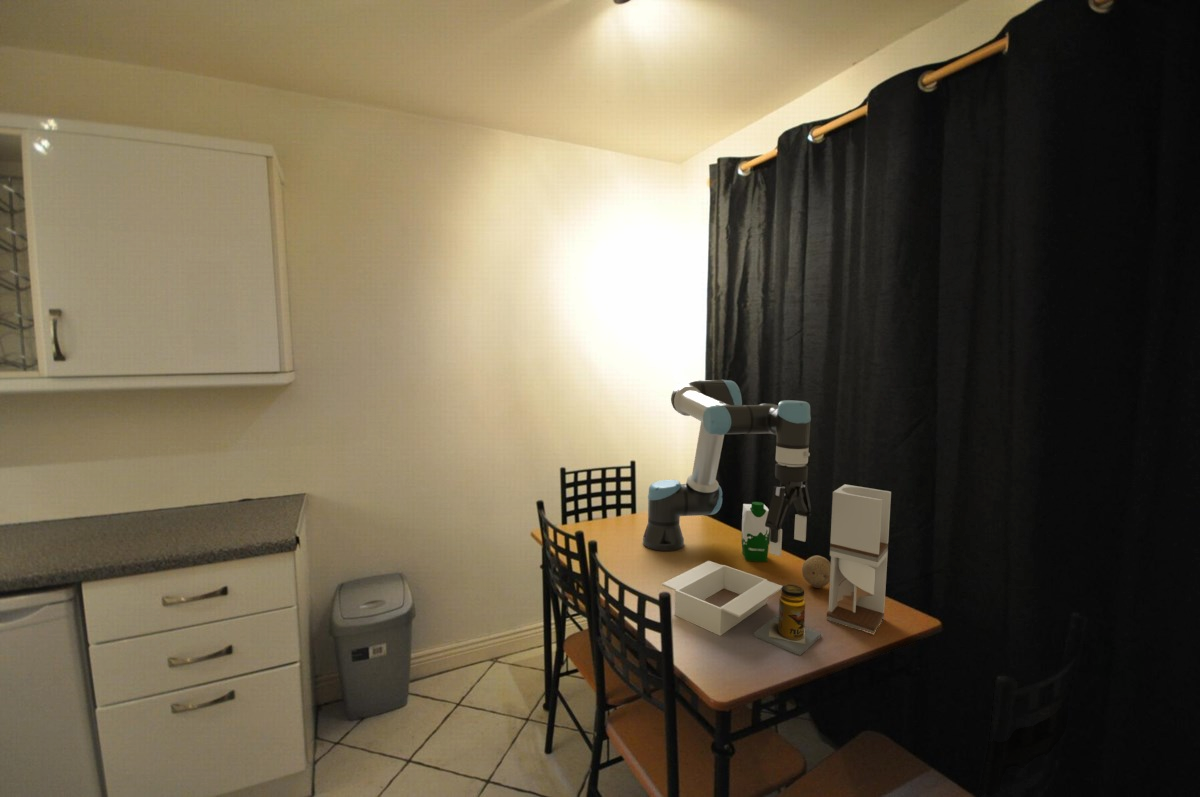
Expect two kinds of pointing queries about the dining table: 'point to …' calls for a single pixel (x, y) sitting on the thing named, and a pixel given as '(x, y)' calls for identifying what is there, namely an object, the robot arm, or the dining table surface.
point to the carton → (710, 581)
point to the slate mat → (788, 645)
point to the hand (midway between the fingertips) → (787, 547)
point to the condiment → (790, 615)
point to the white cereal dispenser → (858, 556)
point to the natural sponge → (817, 571)
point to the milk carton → (755, 532)
